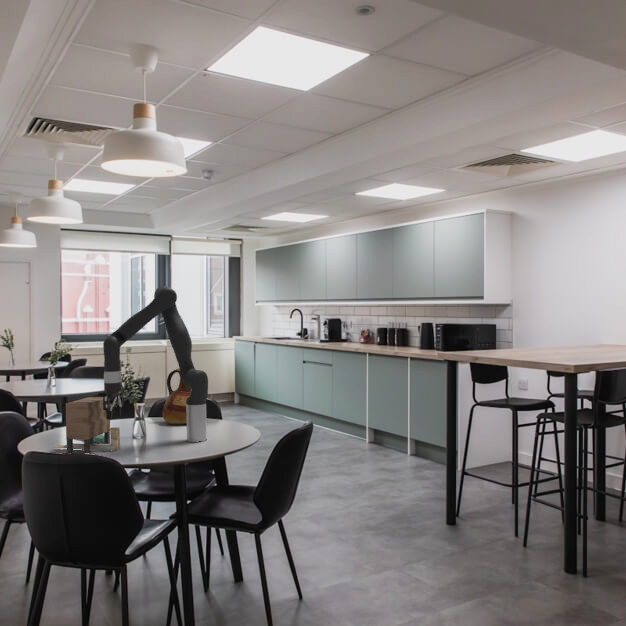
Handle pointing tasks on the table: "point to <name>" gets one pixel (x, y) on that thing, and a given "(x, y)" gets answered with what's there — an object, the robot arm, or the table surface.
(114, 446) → the plank with tan block
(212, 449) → the table surface
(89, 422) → the walnut cabinet
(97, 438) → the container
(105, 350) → the robot arm
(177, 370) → the ceramic pitcher
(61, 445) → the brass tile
